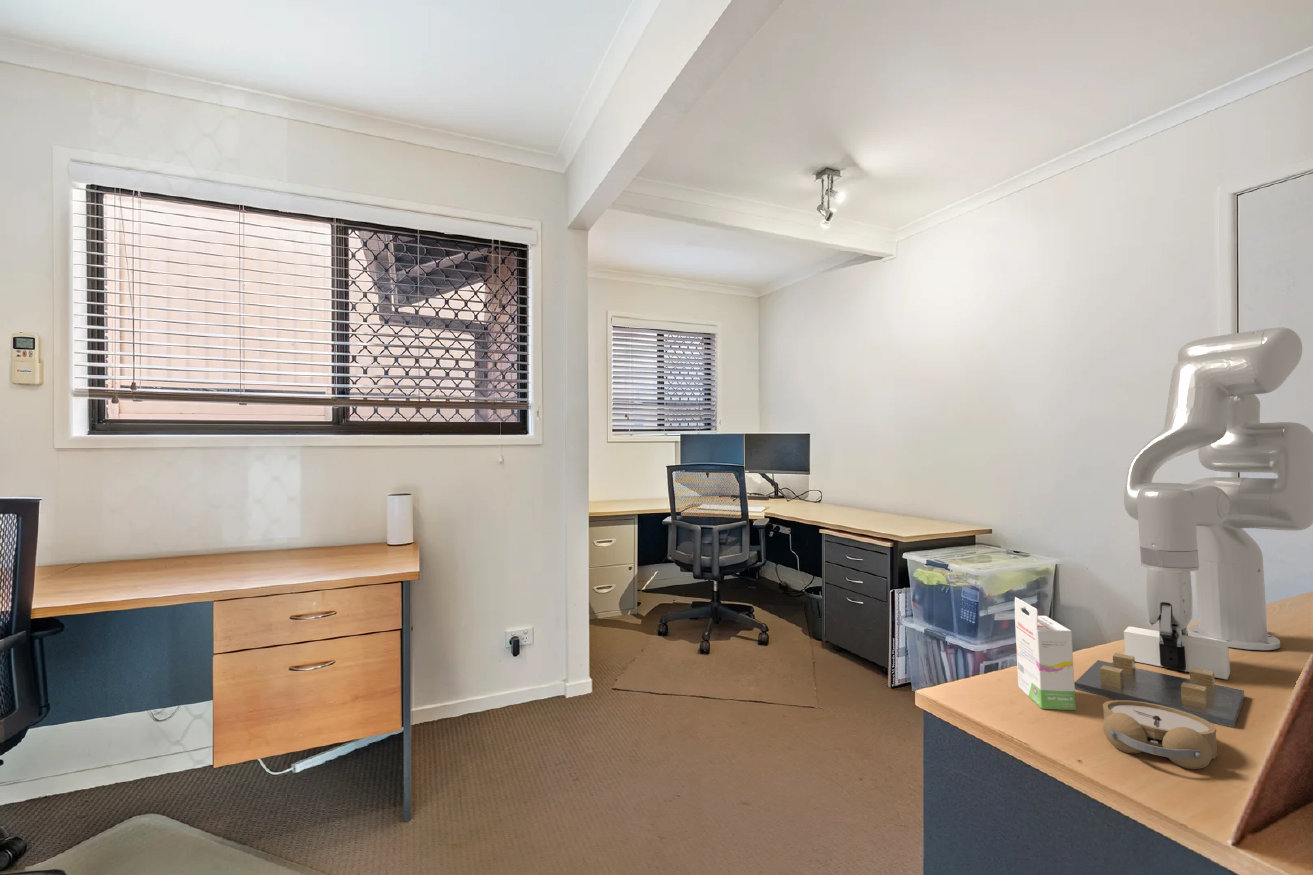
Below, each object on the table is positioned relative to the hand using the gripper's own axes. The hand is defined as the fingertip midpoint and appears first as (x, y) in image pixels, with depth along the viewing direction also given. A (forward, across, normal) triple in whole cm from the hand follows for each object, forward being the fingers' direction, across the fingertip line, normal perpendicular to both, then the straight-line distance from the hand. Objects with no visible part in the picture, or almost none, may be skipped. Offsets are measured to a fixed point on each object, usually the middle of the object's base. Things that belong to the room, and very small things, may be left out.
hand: (1175, 663), depth 99 cm
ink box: (0, +29, -11) cm, 31 cm away
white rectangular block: (0, 0, 0) cm, 0 cm away
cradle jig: (0, +15, 0) cm, 15 cm away
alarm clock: (+1, +36, +3) cm, 36 cm away
